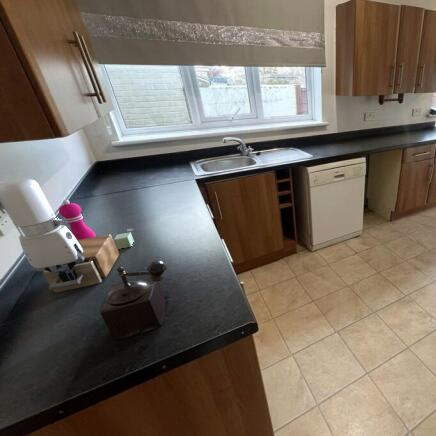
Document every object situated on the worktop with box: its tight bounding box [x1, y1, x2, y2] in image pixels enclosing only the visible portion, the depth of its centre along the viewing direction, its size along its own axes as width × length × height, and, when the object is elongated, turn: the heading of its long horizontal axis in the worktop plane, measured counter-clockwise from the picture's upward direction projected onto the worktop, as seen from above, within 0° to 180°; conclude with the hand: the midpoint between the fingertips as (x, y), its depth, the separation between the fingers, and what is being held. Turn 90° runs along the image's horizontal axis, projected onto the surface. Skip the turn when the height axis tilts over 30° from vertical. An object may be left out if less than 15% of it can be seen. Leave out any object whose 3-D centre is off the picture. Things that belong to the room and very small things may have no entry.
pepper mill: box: [58, 199, 97, 240], centre depth 101 cm, size 7×7×20 cm
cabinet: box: [77, 234, 120, 279], centre depth 88 cm, size 15×13×10 cm
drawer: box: [42, 258, 103, 294], centre depth 83 cm, size 18×11×8 cm, turn 21°
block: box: [113, 231, 135, 250], centre depth 104 cm, size 4×4×4 cm
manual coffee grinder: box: [99, 260, 167, 341], centre depth 67 cm, size 16×11×18 cm
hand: (71, 282), depth 78 cm, fingers closed
